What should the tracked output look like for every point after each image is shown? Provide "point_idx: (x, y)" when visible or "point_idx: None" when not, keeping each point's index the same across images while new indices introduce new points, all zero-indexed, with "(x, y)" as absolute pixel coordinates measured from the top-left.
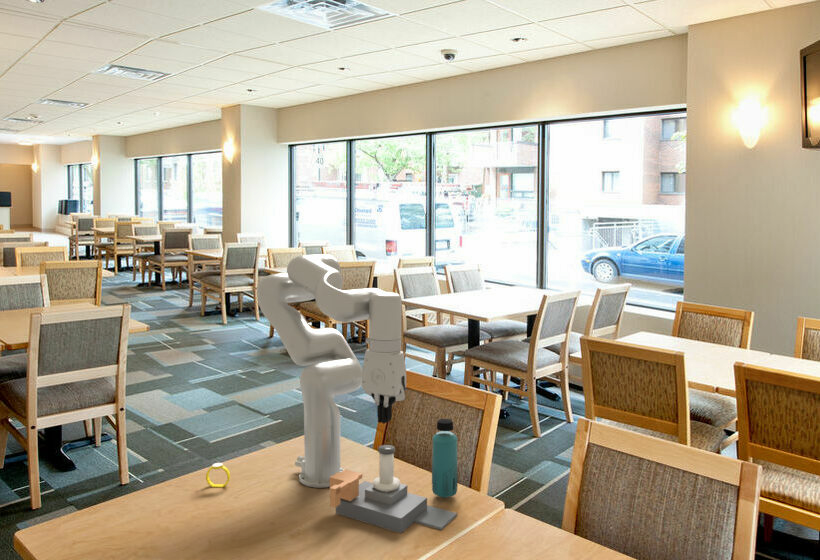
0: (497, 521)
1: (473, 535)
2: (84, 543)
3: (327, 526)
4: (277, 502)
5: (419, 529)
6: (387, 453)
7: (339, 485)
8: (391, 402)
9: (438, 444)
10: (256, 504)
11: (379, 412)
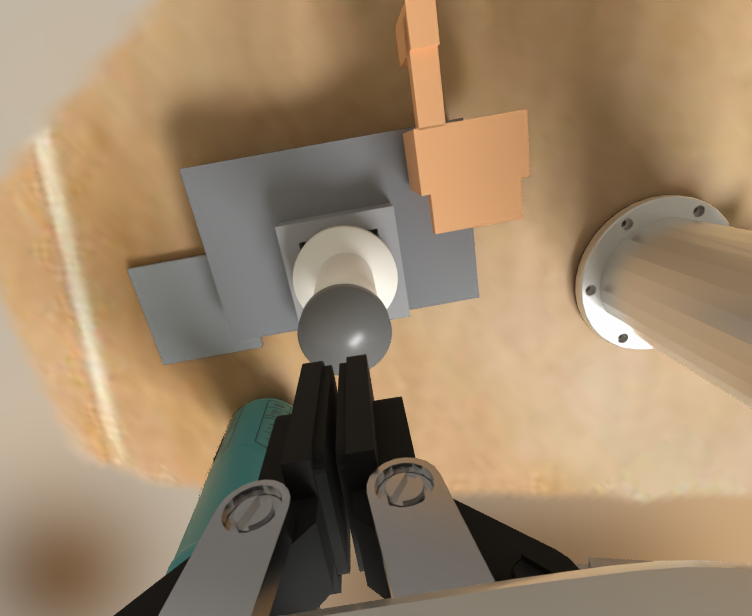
0: (67, 407)
1: (46, 305)
2: None
3: None
4: (672, 35)
5: (178, 227)
6: (309, 300)
7: (430, 69)
8: (167, 585)
9: None
10: None
11: (348, 406)
